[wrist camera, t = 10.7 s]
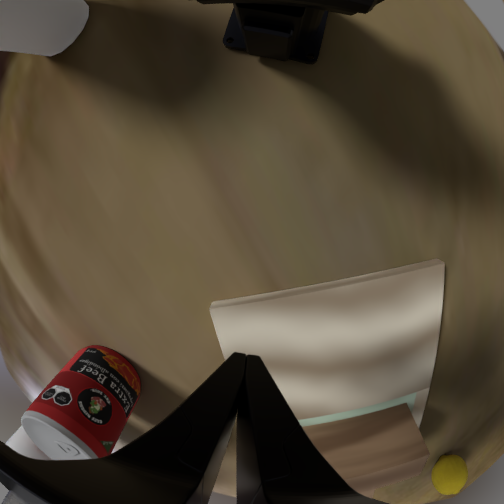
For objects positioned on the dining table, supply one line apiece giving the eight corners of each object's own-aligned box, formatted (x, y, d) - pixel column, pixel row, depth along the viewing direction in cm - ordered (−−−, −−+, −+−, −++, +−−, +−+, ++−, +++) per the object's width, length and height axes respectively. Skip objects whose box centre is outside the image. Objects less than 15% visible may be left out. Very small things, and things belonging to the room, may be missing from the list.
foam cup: (20, 42, 16) (-67, 19, 3) (83, -24, 14) (8, -76, 1) (45, 90, 17) (-69, 73, 5) (119, 13, 15) (25, -58, 3)
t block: (276, 429, 24) (275, 489, 17) (406, 402, 22) (429, 454, 16) (291, 484, 27) (292, 528, 21) (391, 464, 26) (403, 505, 19)
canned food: (158, 384, 25) (116, 474, 14) (118, 408, 26) (79, 480, 16) (99, 328, 23) (31, 404, 13) (67, 361, 25) (13, 425, 15)
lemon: (419, 464, 28) (433, 504, 20) (447, 442, 26) (466, 482, 19) (435, 467, 29) (449, 502, 21) (462, 446, 27) (479, 481, 19)
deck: (212, 301, 22) (209, 309, 20) (437, 258, 20) (444, 263, 18) (273, 484, 29) (273, 491, 28) (404, 458, 27) (406, 464, 26)
